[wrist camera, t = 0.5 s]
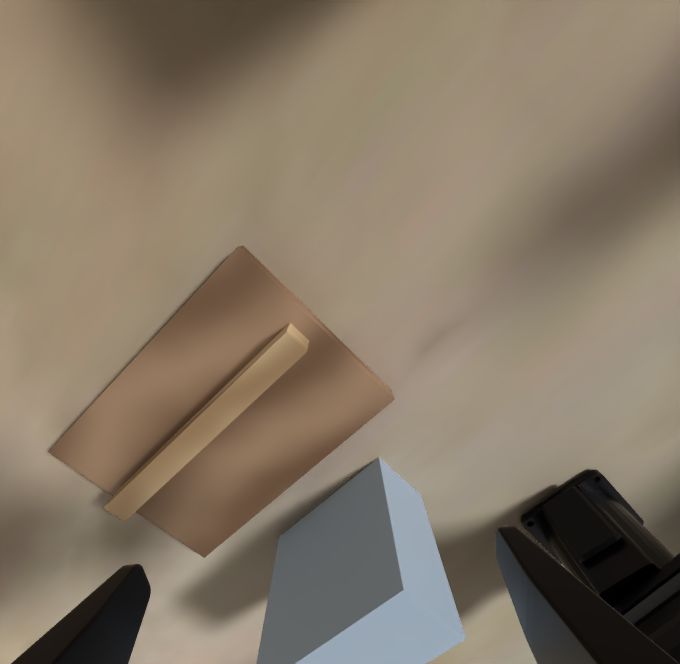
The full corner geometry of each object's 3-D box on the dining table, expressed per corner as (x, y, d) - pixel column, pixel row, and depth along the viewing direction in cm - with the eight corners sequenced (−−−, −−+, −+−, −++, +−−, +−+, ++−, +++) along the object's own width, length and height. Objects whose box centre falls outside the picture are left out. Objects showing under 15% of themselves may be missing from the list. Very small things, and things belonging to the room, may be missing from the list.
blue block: (420, 494, 25) (466, 638, 16) (321, 567, 27) (315, 731, 18) (378, 456, 24) (403, 589, 15) (279, 536, 26) (251, 693, 17)
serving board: (391, 390, 22) (399, 415, 19) (209, 542, 26) (194, 583, 23) (243, 245, 19) (227, 249, 16) (62, 440, 23) (23, 471, 20)
